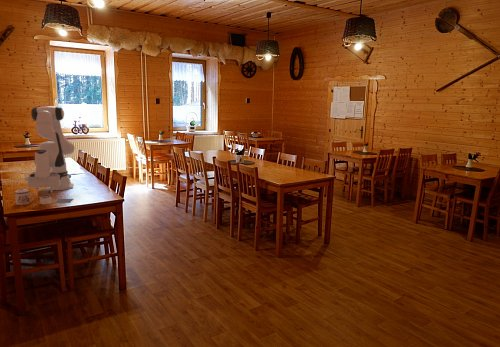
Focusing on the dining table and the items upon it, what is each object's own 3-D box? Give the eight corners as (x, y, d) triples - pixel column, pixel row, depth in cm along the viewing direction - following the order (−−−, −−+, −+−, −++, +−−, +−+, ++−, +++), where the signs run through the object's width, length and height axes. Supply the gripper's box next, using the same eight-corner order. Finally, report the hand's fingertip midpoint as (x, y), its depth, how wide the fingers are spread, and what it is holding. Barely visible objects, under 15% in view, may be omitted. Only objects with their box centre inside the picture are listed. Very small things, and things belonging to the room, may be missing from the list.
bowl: (42, 203, 266) (42, 196, 265) (52, 202, 267) (52, 196, 266) (39, 205, 259) (38, 198, 258) (49, 205, 261) (49, 198, 260)
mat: (59, 200, 274) (59, 199, 274) (74, 199, 276) (74, 198, 276) (54, 204, 262) (54, 203, 262) (69, 204, 264) (69, 202, 264)
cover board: (42, 193, 265) (42, 188, 265) (51, 192, 267) (51, 188, 266) (38, 196, 257) (37, 191, 256) (47, 195, 258) (47, 191, 257)
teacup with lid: (17, 206, 258) (15, 189, 256) (14, 203, 264) (12, 187, 262) (36, 203, 266) (35, 187, 264) (33, 200, 272) (31, 184, 270)
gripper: (61, 172, 264) (62, 191, 267) (29, 173, 260) (31, 192, 263) (58, 174, 258) (59, 193, 261) (25, 174, 254) (27, 194, 257)
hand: (45, 193), depth 262 cm, fingers closed on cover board, 6 cm apart
